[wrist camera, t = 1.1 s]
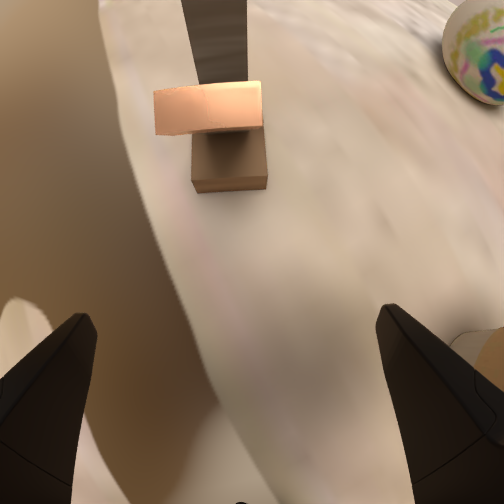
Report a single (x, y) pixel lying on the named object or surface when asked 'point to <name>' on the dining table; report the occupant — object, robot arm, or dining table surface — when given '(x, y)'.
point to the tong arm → (208, 109)
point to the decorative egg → (477, 49)
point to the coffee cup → (483, 353)
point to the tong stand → (223, 71)
